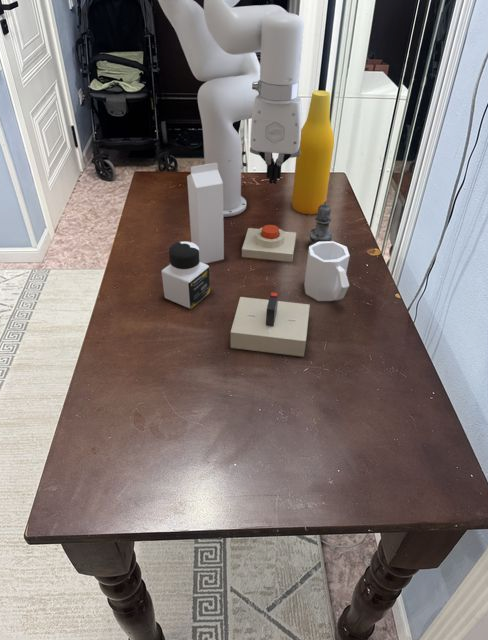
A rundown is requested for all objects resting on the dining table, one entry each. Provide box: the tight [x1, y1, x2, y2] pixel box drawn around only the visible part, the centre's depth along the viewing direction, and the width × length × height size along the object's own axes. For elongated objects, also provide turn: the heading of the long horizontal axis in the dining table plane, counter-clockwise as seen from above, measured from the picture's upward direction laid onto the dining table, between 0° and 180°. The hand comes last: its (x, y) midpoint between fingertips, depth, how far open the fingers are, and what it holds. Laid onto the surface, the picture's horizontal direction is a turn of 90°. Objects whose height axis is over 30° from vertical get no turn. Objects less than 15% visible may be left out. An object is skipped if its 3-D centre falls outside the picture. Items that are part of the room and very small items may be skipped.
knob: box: [266, 291, 279, 326], centre depth 93 cm, size 5×2×4 cm, turn 170°
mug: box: [303, 240, 351, 302], centre depth 103 cm, size 12×9×10 cm
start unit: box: [241, 227, 297, 263], centre depth 119 cm, size 12×10×4 cm
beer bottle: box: [291, 90, 335, 216], centre depth 126 cm, size 9×9×29 cm
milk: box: [186, 163, 225, 264], centre depth 109 cm, size 6×6×22 cm
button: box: [261, 224, 280, 239], centre depth 117 cm, size 4×4×2 cm
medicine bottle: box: [161, 240, 211, 310], centre depth 101 cm, size 7×7×12 cm
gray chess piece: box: [308, 200, 334, 248], centre depth 117 cm, size 6×6×12 cm
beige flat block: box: [230, 296, 311, 358], centre depth 96 cm, size 14×11×4 cm
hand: (273, 180), depth 108 cm, fingers closed
